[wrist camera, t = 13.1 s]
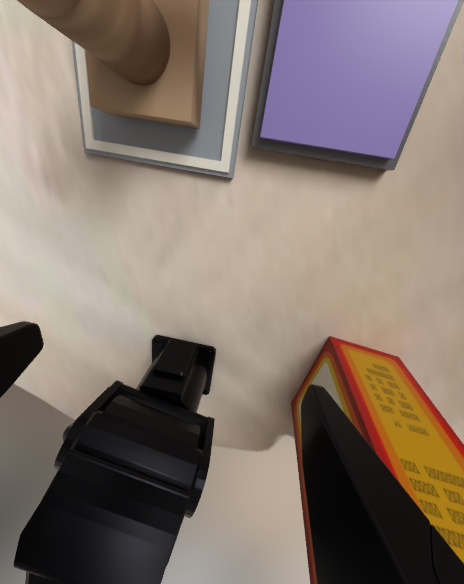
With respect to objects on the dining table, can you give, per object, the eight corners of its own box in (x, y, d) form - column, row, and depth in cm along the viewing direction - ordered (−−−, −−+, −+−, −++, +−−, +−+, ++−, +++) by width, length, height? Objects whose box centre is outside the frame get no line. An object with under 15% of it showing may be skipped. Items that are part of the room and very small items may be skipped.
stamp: (201, 130, 16) (107, 59, 6) (115, 116, 16) (-91, 30, 7) (211, 0, 13) (76, -441, 4) (107, -13, 13) (-250, -447, 4)
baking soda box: (348, 420, 26) (452, 727, 11) (291, 403, 26) (321, 686, 11) (398, 357, 21) (667, 718, 7) (329, 336, 21) (456, 652, 7)
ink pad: (386, 170, 15) (399, 169, 14) (252, 148, 16) (250, 145, 14) (469, -36, 11) (497, -67, 10) (285, -57, 12) (288, -90, 10)
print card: (233, 178, 17) (231, 178, 16) (88, 153, 17) (82, 152, 17) (266, -59, 12) (266, -70, 11) (63, -83, 13) (54, -94, 12)
